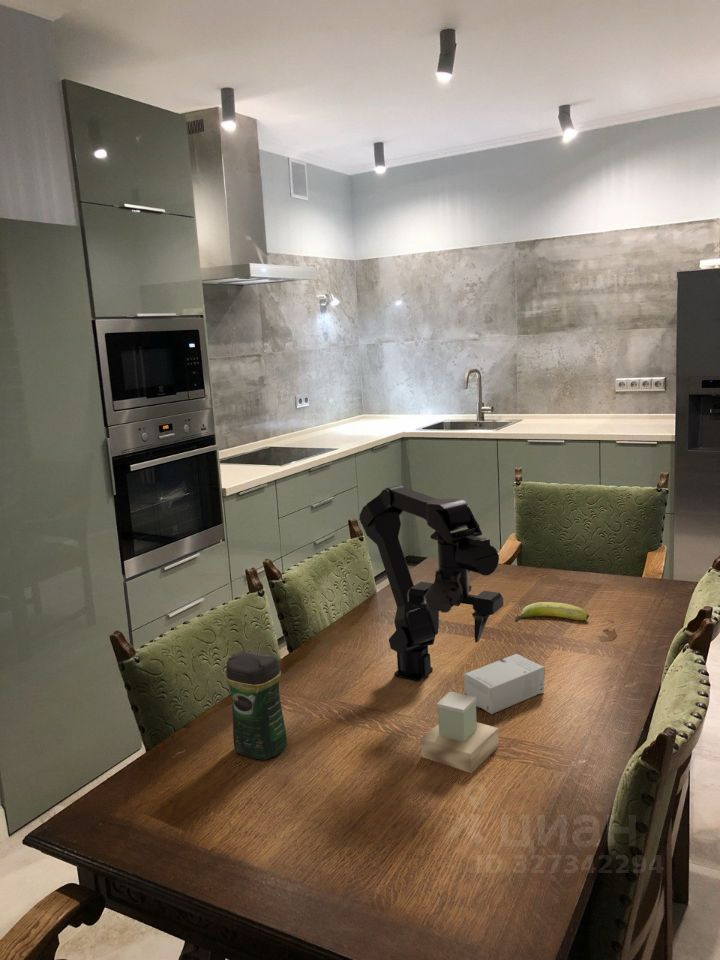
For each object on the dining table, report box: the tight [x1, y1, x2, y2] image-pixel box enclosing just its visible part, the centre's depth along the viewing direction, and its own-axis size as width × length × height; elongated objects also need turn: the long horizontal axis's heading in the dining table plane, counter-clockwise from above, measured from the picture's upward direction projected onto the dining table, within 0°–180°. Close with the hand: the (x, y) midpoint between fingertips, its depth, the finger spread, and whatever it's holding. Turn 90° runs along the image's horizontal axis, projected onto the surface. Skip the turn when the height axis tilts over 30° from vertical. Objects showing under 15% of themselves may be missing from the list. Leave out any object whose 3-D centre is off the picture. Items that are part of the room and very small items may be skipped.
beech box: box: [420, 721, 500, 774], centre depth 139 cm, size 10×10×4 cm
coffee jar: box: [225, 650, 288, 760], centre depth 143 cm, size 10×8×19 cm
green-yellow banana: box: [511, 599, 618, 643], centre depth 197 cm, size 35×27×4 cm
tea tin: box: [436, 691, 478, 742], centre depth 138 cm, size 5×5×6 cm
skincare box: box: [463, 653, 546, 715], centre depth 157 cm, size 8×6×15 cm
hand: (456, 638), depth 156 cm, fingers open, 9 cm apart
